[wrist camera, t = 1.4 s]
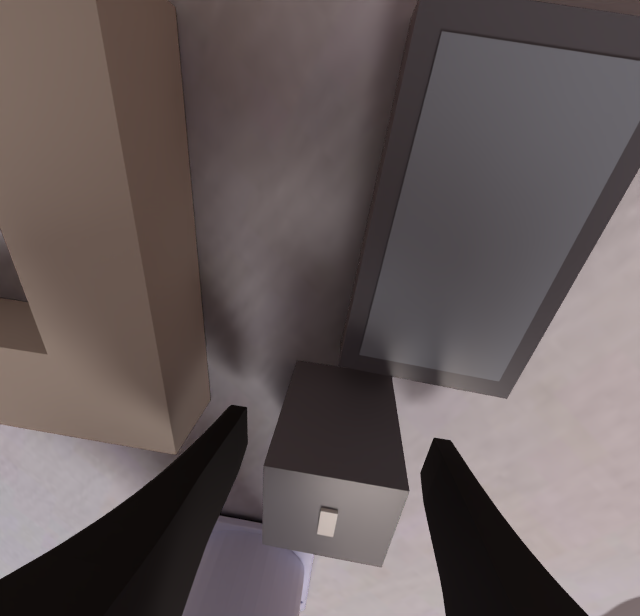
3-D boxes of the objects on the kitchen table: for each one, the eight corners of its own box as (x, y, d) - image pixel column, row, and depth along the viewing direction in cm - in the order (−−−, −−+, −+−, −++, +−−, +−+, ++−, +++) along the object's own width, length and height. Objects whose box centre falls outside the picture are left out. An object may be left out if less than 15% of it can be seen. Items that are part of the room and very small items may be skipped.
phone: (484, 364, 12) (508, 400, 10) (341, 337, 12) (338, 367, 11) (636, 59, 8) (723, 26, 6) (408, 25, 8) (424, -18, 6)
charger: (374, 440, 14) (381, 571, 10) (292, 426, 14) (261, 547, 10) (391, 374, 12) (409, 495, 8) (297, 359, 13) (262, 468, 8)
